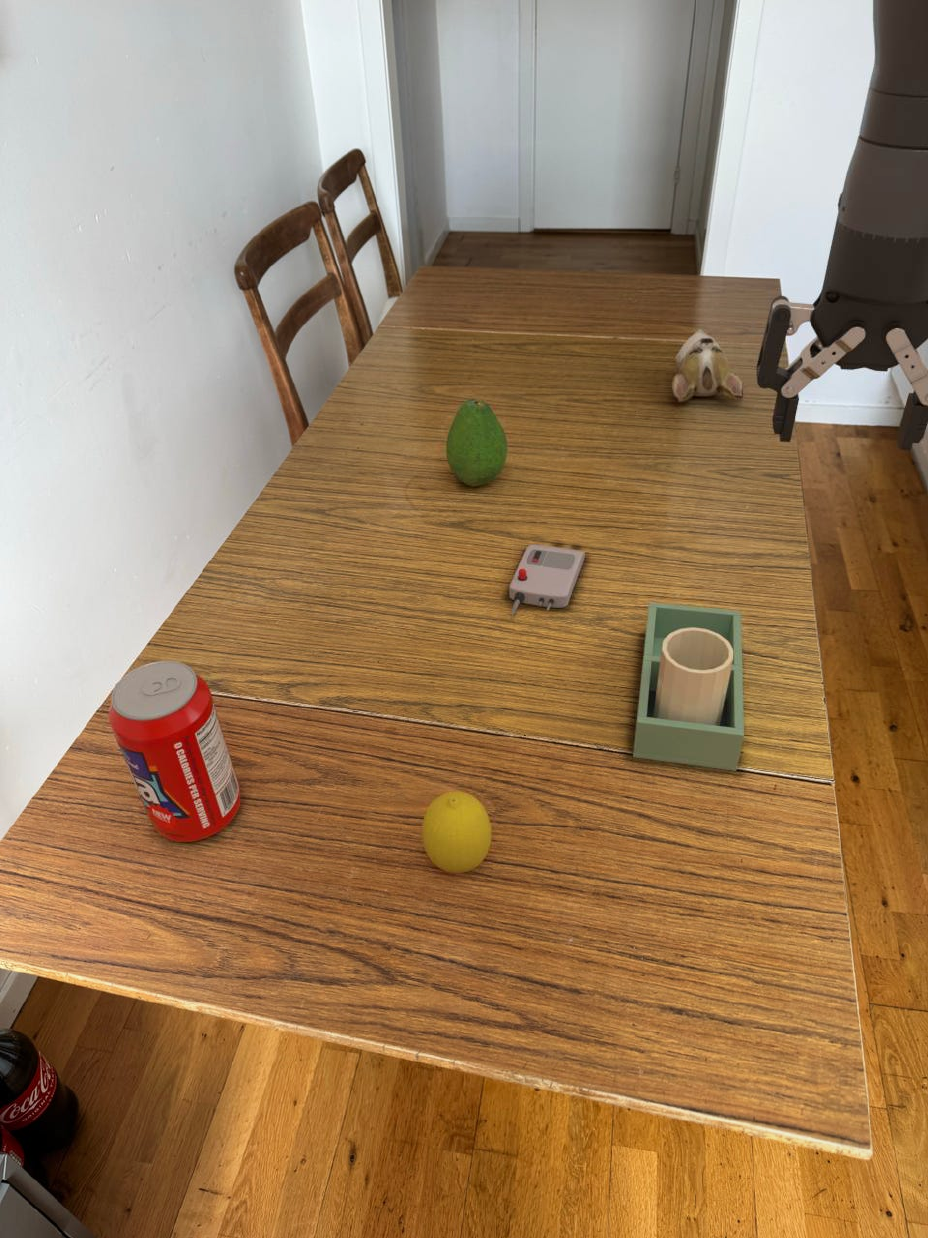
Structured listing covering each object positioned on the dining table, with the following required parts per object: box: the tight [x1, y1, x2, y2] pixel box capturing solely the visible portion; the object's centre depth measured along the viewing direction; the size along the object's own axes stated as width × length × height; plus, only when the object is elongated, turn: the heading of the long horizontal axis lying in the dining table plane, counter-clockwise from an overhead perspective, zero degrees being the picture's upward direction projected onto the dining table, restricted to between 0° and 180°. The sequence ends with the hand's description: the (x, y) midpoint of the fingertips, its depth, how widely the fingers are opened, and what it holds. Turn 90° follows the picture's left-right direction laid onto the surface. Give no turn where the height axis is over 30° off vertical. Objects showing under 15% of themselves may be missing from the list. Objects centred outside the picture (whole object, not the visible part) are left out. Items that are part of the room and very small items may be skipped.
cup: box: [653, 627, 733, 726], centre depth 80 cm, size 6×6×9 cm
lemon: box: [421, 790, 493, 874], centre depth 70 cm, size 6×6×8 cm
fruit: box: [445, 398, 508, 488], centre depth 116 cm, size 8×8×12 cm
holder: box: [632, 601, 745, 772], centre depth 85 cm, size 17×9×5 cm, turn 167°
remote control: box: [508, 543, 586, 617], centre depth 101 cm, size 7×16×3 cm, turn 162°
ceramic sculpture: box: [670, 328, 744, 403], centre depth 136 cm, size 11×9×15 cm
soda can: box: [108, 660, 242, 843], centre depth 74 cm, size 8×8×15 cm
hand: (843, 441), depth 68 cm, fingers open, 8 cm apart
